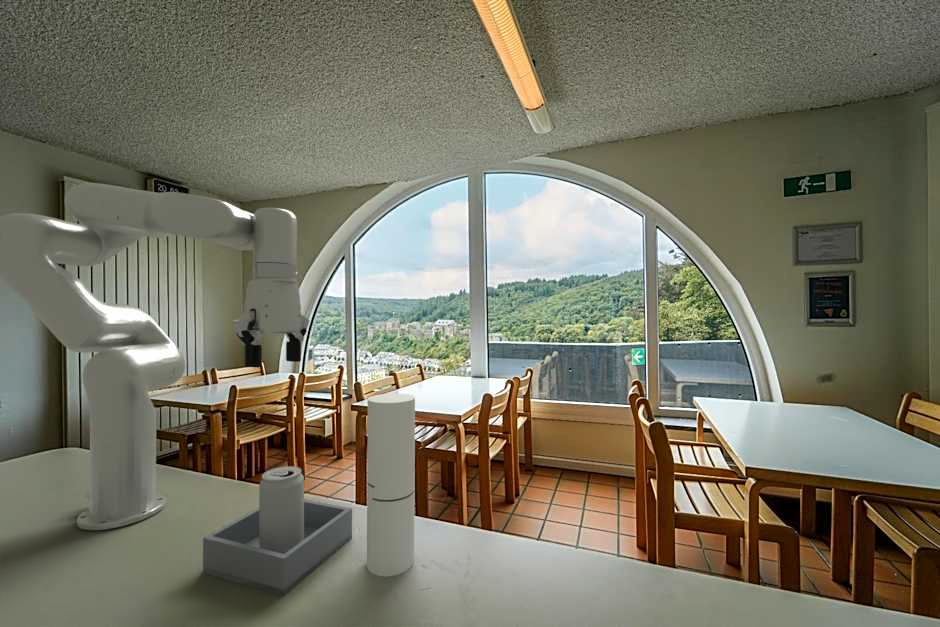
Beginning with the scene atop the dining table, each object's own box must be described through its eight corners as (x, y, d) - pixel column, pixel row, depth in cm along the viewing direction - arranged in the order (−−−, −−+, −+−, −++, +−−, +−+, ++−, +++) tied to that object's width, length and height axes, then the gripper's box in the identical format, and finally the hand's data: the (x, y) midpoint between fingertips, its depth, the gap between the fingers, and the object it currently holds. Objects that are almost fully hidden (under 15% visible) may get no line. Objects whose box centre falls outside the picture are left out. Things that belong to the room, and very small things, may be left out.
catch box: (202, 572, 59) (203, 537, 59) (281, 522, 73) (282, 495, 73) (284, 596, 54) (284, 558, 54) (351, 538, 68) (352, 508, 68)
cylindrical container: (396, 542, 67) (397, 391, 67) (423, 561, 62) (424, 398, 62) (357, 561, 62) (358, 397, 62) (383, 583, 57) (384, 405, 57)
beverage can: (286, 562, 60) (287, 482, 60) (249, 557, 61) (249, 478, 61) (312, 539, 66) (312, 466, 66) (277, 535, 67) (277, 463, 67)
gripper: (293, 279, 87) (292, 358, 86) (219, 270, 70) (218, 368, 70) (321, 278, 84) (321, 360, 84) (252, 268, 68) (251, 370, 68)
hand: (274, 363), depth 77 cm, fingers open, 9 cm apart
